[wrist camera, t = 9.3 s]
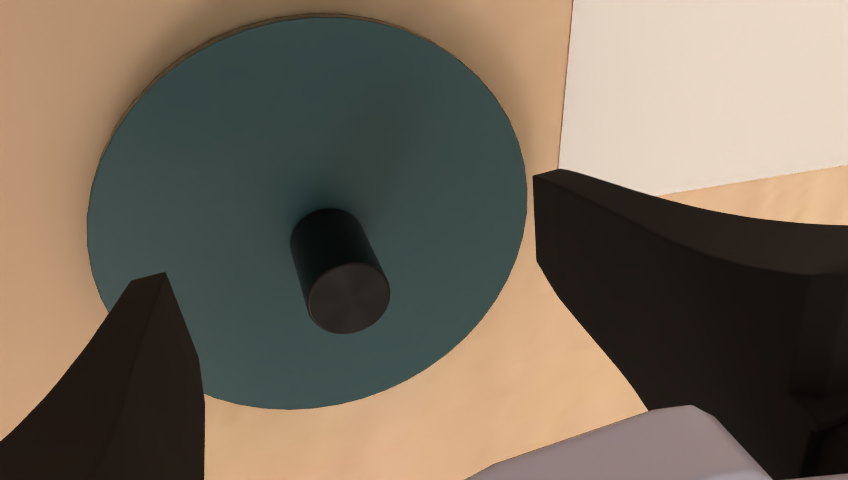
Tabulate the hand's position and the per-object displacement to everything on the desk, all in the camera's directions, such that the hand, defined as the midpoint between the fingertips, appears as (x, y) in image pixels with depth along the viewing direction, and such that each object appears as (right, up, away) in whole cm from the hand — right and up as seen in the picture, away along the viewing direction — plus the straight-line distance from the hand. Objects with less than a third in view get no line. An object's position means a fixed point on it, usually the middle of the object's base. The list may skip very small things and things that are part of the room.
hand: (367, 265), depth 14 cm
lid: (-2, +1, +9) cm, 10 cm away
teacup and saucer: (+15, +12, +10) cm, 22 cm away
